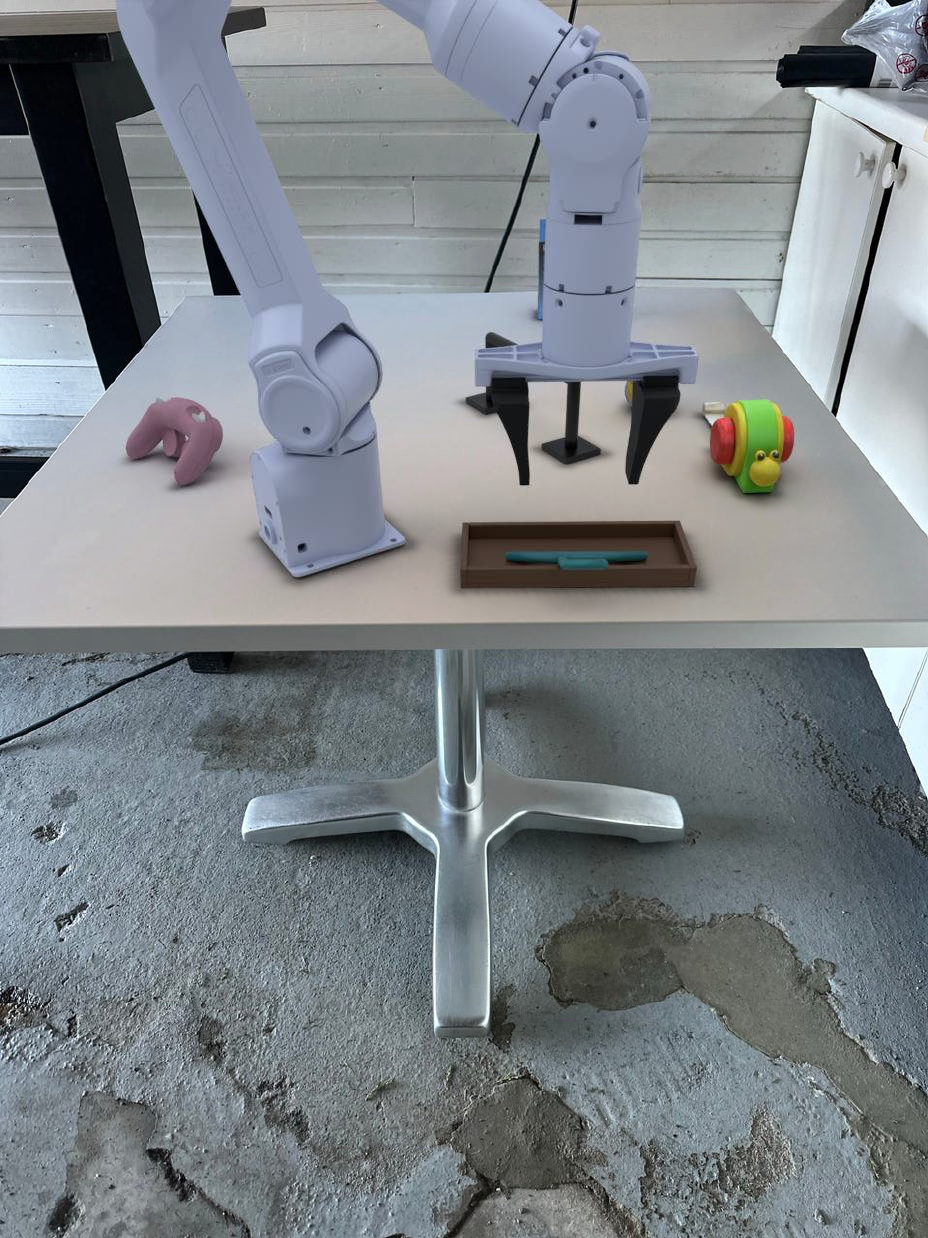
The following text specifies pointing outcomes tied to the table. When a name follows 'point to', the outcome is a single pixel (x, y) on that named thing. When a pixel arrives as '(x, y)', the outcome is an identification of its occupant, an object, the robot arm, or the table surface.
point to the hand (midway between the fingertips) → (577, 478)
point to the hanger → (578, 558)
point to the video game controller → (178, 436)
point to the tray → (495, 539)
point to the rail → (571, 444)
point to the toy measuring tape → (750, 441)
